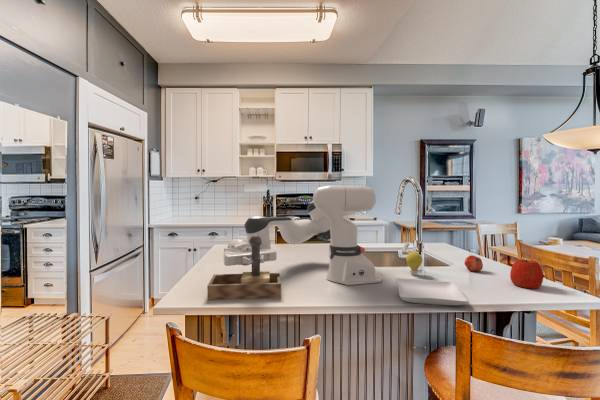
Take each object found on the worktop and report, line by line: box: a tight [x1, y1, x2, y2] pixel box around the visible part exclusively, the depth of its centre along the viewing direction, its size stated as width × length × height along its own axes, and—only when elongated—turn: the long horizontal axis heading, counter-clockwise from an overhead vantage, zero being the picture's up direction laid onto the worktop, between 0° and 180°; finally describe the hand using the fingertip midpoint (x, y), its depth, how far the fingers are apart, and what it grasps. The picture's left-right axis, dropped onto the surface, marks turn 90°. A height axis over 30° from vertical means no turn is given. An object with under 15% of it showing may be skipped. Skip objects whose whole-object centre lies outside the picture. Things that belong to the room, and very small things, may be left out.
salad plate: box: [395, 277, 469, 307], centre depth 118 cm, size 21×21×3 cm
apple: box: [509, 258, 544, 290], centre depth 130 cm, size 11×11×11 cm
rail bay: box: [206, 272, 282, 301], centre depth 122 cm, size 25×14×5 cm, turn 96°
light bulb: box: [405, 251, 423, 276], centre depth 145 cm, size 7×7×10 cm
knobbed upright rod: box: [241, 235, 271, 284], centre depth 122 cm, size 10×9×20 cm
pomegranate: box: [463, 254, 484, 272], centre depth 152 cm, size 7×7×10 cm
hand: (256, 261), depth 121 cm, fingers closed on knobbed upright rod, 3 cm apart
